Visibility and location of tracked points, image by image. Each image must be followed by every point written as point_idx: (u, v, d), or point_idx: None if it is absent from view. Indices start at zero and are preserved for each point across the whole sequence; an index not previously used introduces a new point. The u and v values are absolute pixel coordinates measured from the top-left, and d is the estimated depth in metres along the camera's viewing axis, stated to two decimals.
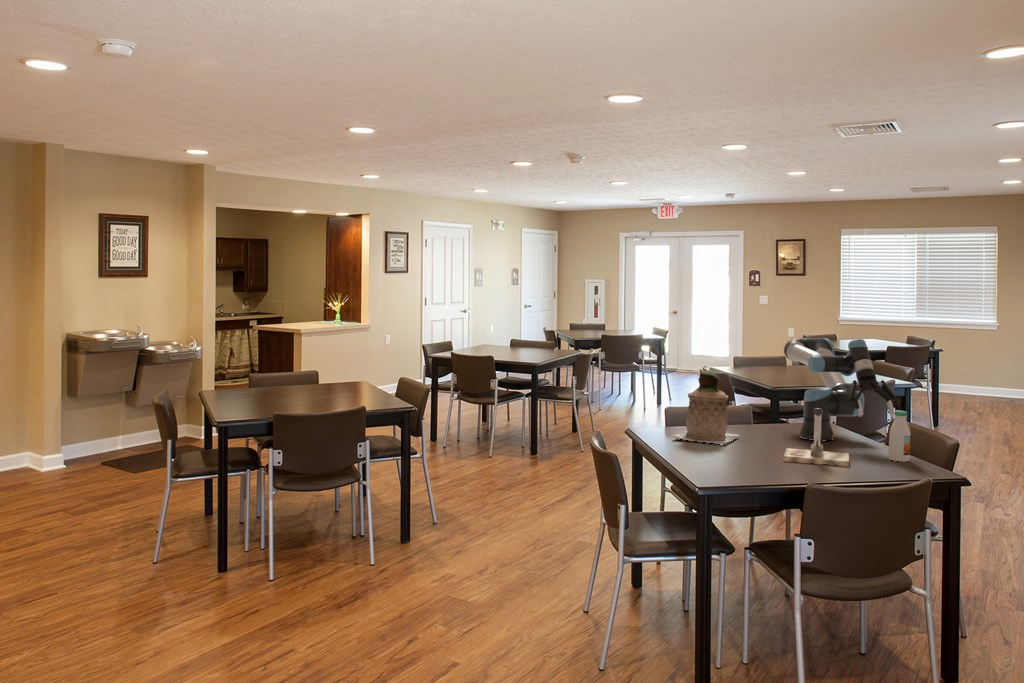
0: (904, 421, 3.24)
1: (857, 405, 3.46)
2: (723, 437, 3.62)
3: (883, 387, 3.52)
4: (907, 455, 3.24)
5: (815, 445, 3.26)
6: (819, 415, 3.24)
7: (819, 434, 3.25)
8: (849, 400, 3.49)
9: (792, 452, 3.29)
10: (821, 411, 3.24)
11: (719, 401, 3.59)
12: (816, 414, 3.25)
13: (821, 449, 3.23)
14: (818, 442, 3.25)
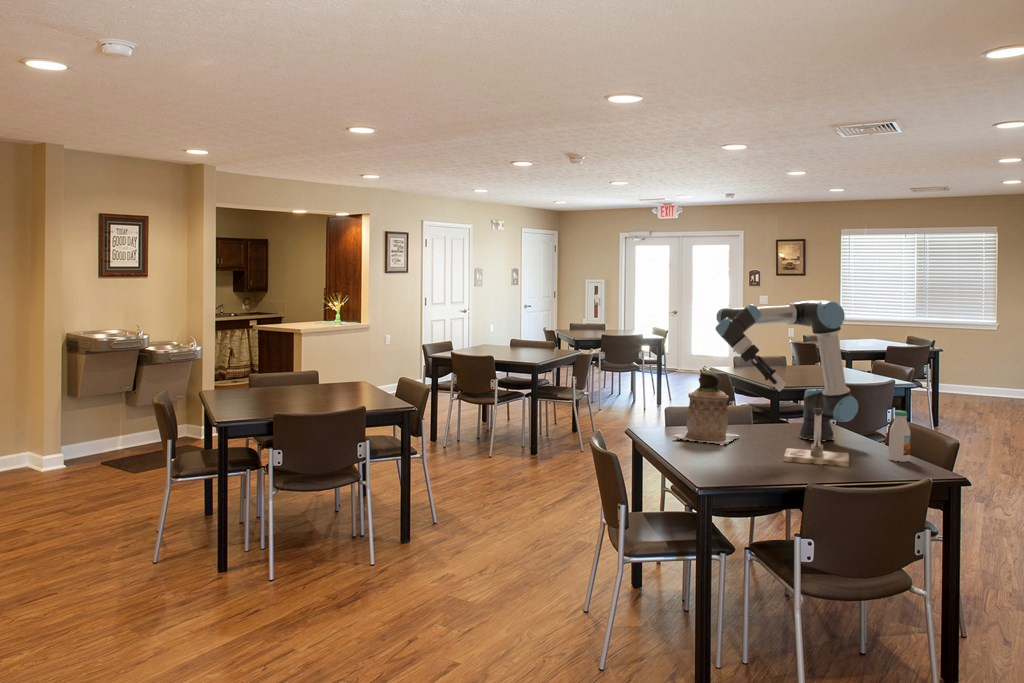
0: (904, 421, 3.24)
1: None
2: (723, 437, 3.62)
3: None
4: (907, 455, 3.24)
5: (815, 445, 3.26)
6: (819, 415, 3.24)
7: (819, 434, 3.25)
8: None
9: (792, 452, 3.29)
10: (821, 411, 3.24)
11: (719, 401, 3.59)
12: (816, 414, 3.25)
13: (821, 449, 3.23)
14: (818, 442, 3.25)
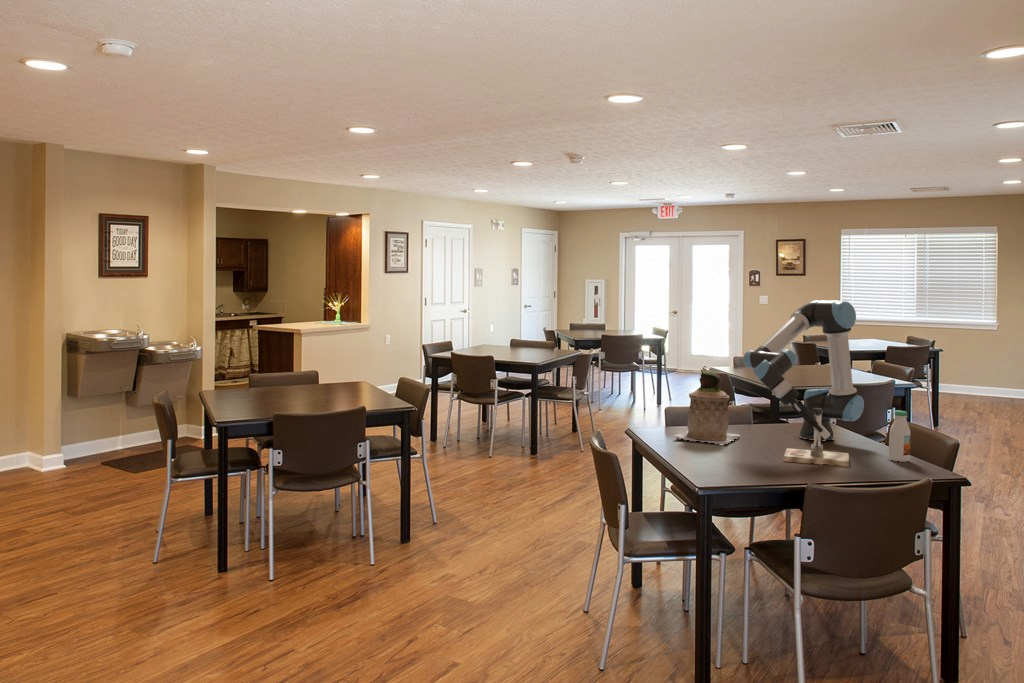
0: (904, 421, 3.24)
1: None
2: (724, 437, 3.62)
3: None
4: (907, 455, 3.24)
5: (815, 445, 3.26)
6: (819, 415, 3.24)
7: (819, 434, 3.25)
8: None
9: (792, 452, 3.29)
10: (821, 411, 3.24)
11: (720, 401, 3.59)
12: (816, 414, 3.25)
13: (821, 449, 3.23)
14: (818, 442, 3.25)
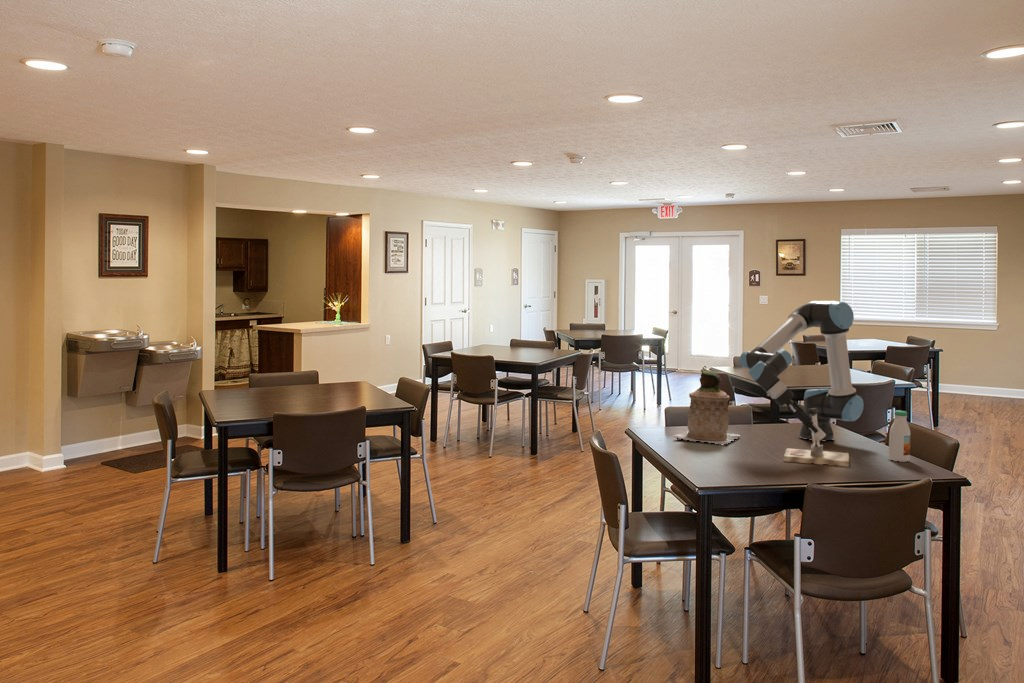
0: (904, 421, 3.24)
1: None
2: (724, 437, 3.62)
3: None
4: (907, 455, 3.24)
5: (814, 445, 3.26)
6: (814, 415, 3.25)
7: None
8: None
9: (792, 452, 3.29)
10: (816, 410, 3.25)
11: (720, 401, 3.59)
12: (811, 414, 3.26)
13: (821, 449, 3.23)
14: (817, 442, 3.25)
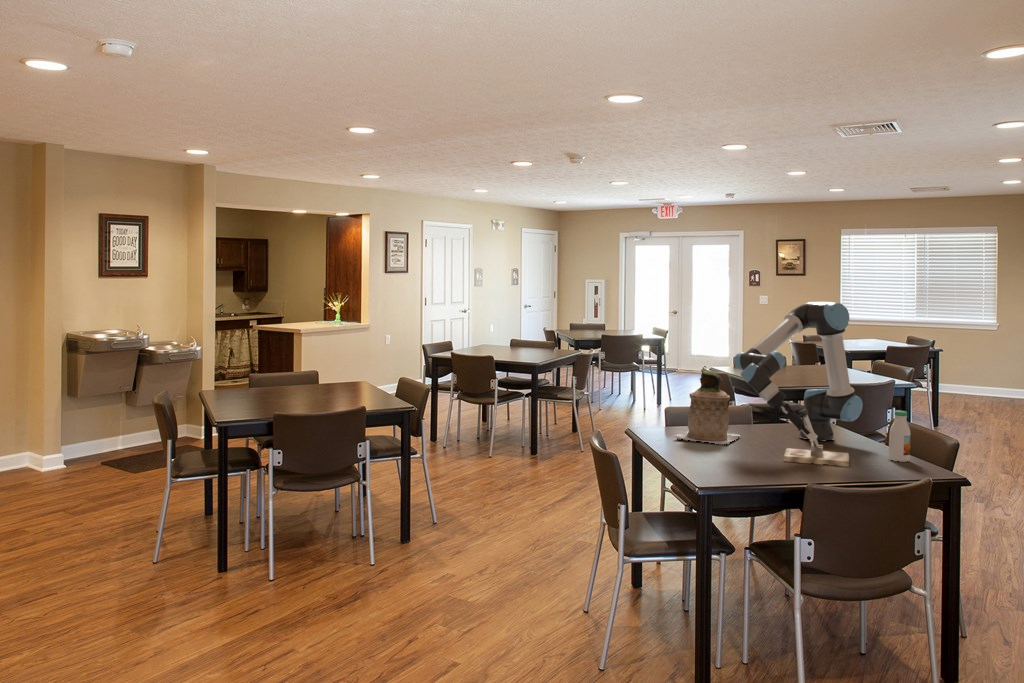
0: (904, 421, 3.24)
1: None
2: (725, 437, 3.63)
3: None
4: (907, 455, 3.24)
5: (813, 446, 3.26)
6: (805, 416, 3.26)
7: None
8: None
9: (792, 452, 3.29)
10: (806, 411, 3.26)
11: (721, 401, 3.59)
12: (802, 416, 3.27)
13: (821, 449, 3.23)
14: (815, 442, 3.25)
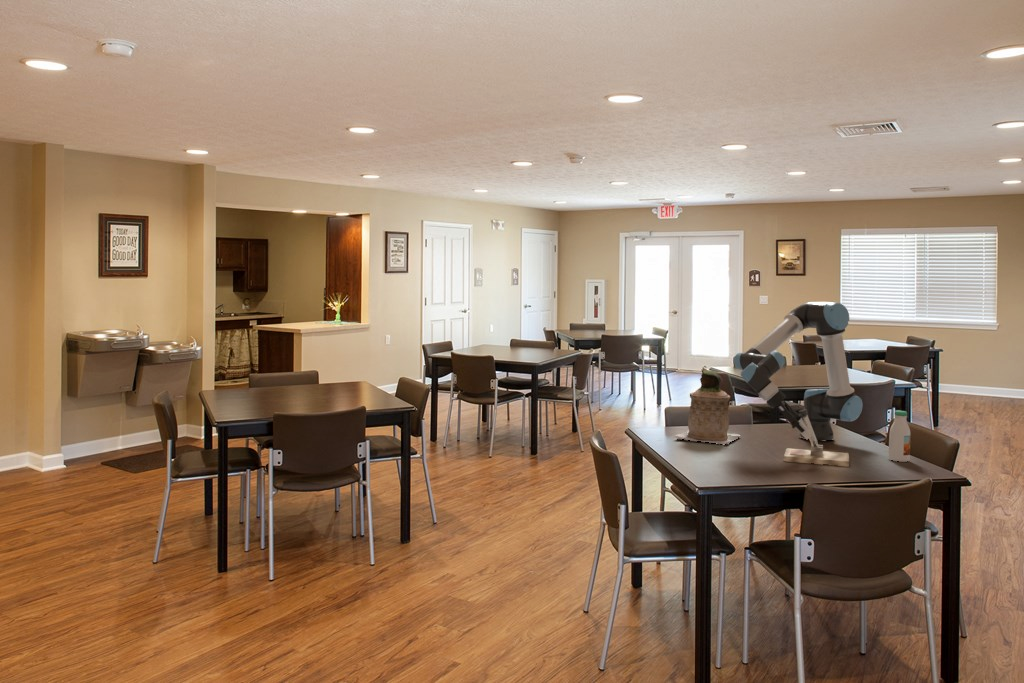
0: (904, 421, 3.24)
1: (801, 425, 3.35)
2: (725, 437, 3.63)
3: None
4: (907, 455, 3.24)
5: (813, 446, 3.26)
6: (805, 416, 3.26)
7: (813, 434, 3.26)
8: None
9: (792, 452, 3.29)
10: (805, 411, 3.26)
11: (721, 401, 3.59)
12: (802, 416, 3.27)
13: (821, 449, 3.23)
14: (815, 442, 3.25)
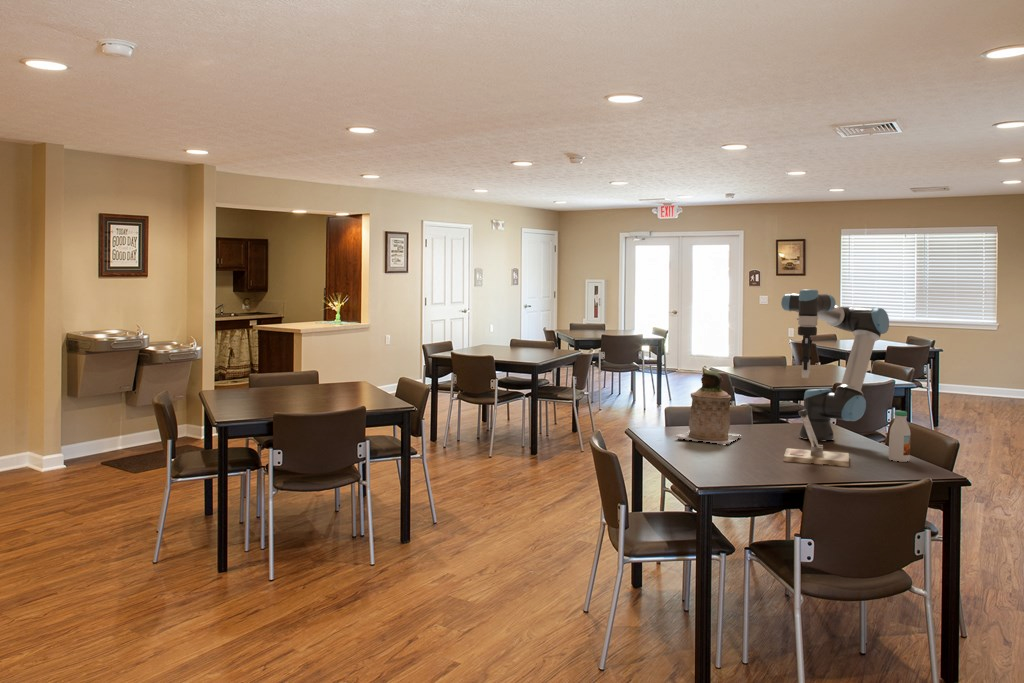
0: (904, 421, 3.24)
1: None
2: (726, 437, 3.63)
3: None
4: (907, 455, 3.24)
5: (813, 446, 3.26)
6: (805, 416, 3.26)
7: (813, 434, 3.26)
8: None
9: (792, 452, 3.29)
10: (805, 411, 3.26)
11: (722, 401, 3.60)
12: (802, 416, 3.27)
13: (821, 449, 3.23)
14: (815, 442, 3.25)
